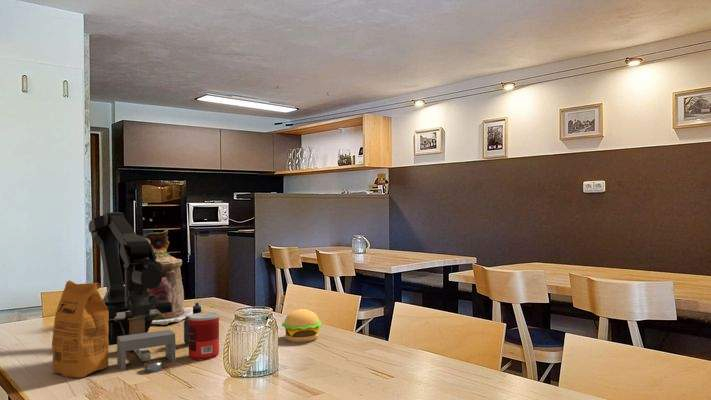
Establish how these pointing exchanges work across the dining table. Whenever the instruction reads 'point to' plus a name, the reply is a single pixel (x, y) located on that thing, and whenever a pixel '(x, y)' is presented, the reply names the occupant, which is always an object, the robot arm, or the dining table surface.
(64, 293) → the coffee package
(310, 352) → the dining table surface
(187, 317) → the vaping device
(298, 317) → the hamburger
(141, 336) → the low shelf
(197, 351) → the canned food
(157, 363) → the steel token
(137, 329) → the blade tool
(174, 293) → the cookie jar
